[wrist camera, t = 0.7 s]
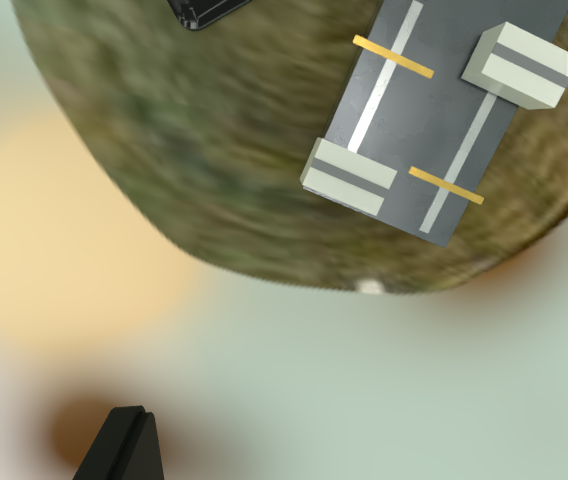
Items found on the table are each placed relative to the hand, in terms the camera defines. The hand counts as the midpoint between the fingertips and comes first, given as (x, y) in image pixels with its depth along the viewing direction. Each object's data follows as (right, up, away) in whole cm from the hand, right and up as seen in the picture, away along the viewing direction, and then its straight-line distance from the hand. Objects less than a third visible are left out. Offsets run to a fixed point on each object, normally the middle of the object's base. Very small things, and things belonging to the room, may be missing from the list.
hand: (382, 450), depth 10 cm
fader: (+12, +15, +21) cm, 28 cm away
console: (+8, +14, +24) cm, 29 cm away
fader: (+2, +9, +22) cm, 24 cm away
